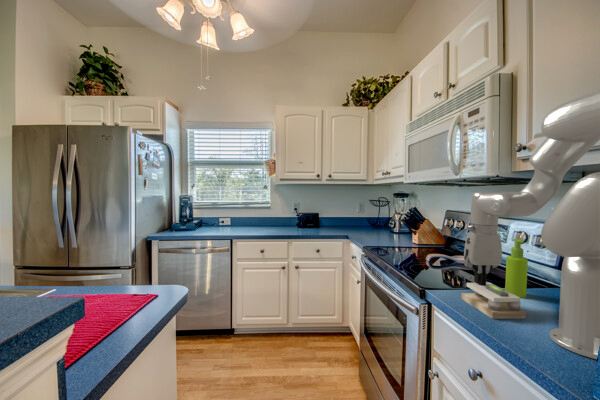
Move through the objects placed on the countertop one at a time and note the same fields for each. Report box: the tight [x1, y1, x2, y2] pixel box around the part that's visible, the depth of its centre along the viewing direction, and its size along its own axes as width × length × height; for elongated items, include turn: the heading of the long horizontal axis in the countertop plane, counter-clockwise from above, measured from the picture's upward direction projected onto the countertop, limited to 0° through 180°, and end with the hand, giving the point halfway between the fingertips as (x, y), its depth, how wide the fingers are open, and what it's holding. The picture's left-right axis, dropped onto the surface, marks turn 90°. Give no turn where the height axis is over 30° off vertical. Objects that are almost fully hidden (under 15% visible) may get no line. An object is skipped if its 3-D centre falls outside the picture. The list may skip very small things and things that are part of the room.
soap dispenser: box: [504, 238, 529, 299], centre depth 95 cm, size 6×7×20 cm
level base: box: [460, 291, 527, 320], centre depth 85 cm, size 14×10×4 cm
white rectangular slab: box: [466, 282, 521, 303], centre depth 85 cm, size 12×8×3 cm, turn 3°
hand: (480, 284), depth 89 cm, fingers closed
